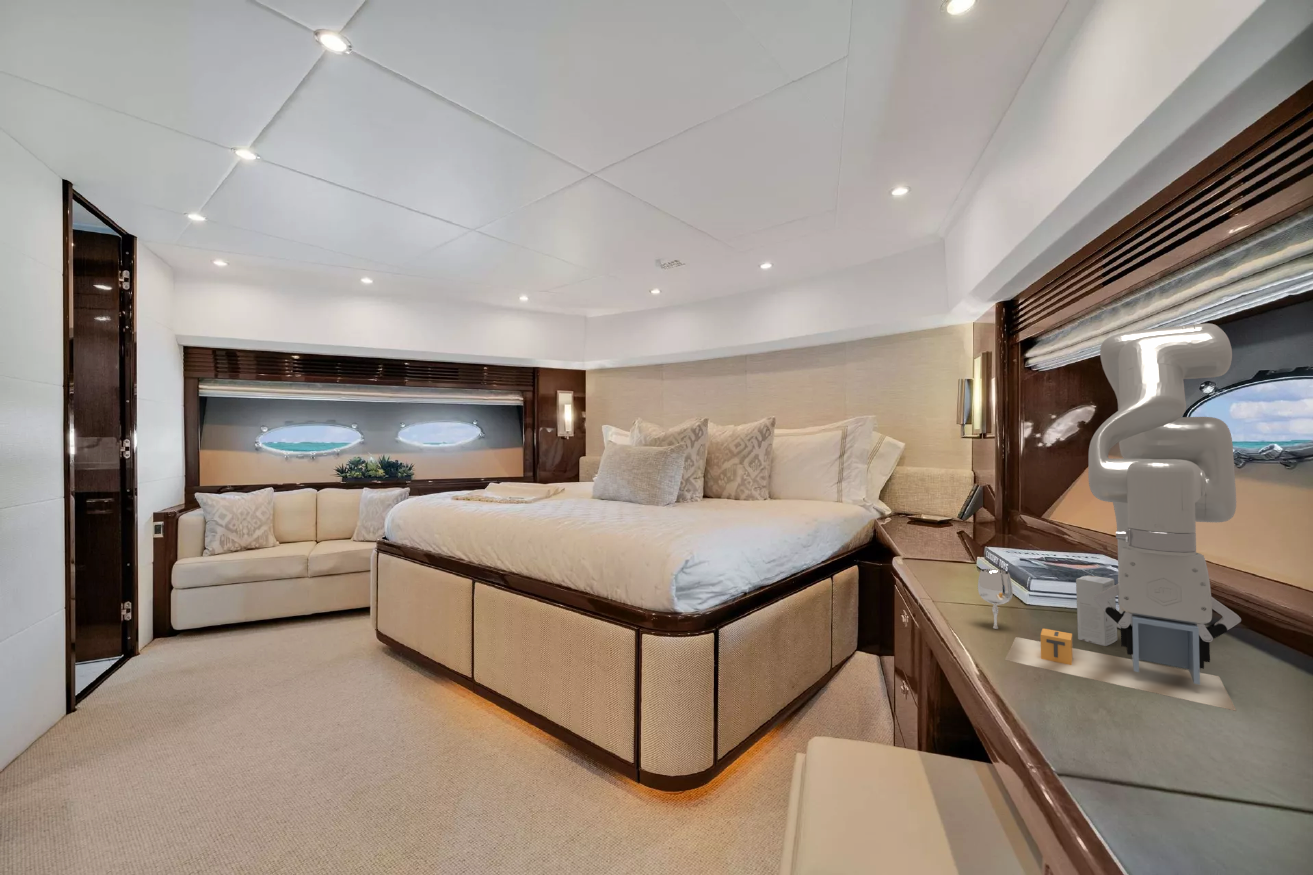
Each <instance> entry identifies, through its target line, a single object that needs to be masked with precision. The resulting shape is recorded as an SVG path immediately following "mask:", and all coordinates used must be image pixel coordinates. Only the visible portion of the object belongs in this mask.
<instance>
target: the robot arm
mask: <svg viewBox="0 0 1313 875" xmlns="http://www.w3.org/2000/svg"><path fill="white" fill-rule="evenodd" d="M1099 351H1100V352H1099V354H1100V362H1101V365H1102V370H1103V372H1104V374H1105V377H1106V378H1107V381H1108V383H1109V384H1110V386H1111V388H1112V390H1113V391H1114V394H1115V397H1116V399H1117V400H1116V401H1117V411H1116V412H1115V413H1113V414H1112V415H1111V416H1110V417H1108V418H1107V419H1106V420H1105V421H1104V422H1103V423H1102V424H1101V425H1100V426H1099V427H1098V428H1097V429H1096V430H1095V432H1094V434H1093V436H1092V437H1091V440H1090V442H1089V448H1088V485H1089V489H1090V492H1091V493H1092V495H1093V496H1094V497H1095V498H1096V499H1097V500H1100V501H1103V502H1106V503H1107V502H1108V503H1112V504H1113V510H1114V516H1115V522H1116V531H1115V539H1116V540H1117V570H1118V571H1117V572H1118V573H1117V583H1115V585H1114V586H1112V587H1110V588H1108V589H1107V590H1105V591H1103V592H1101V593H1099V594H1097V595H1095V596H1094V601H1095V602H1096V603H1097V604H1098V605H1099V606H1100V607H1101V608H1102V609H1103V610H1104V611H1105V612H1106V613H1107V614H1108V615H1109V616H1110V617H1111V618H1112V619H1113V620H1114V621H1115V622H1116V623H1117V629H1119V630H1120V646H1121V647H1123V648H1126V655H1129V656H1132V654H1133V635H1132V626H1131V622H1132V615H1139V616H1145V617H1152V618H1158V619H1165V620H1171V621H1178V622H1185V623H1191V624H1197V626H1198V628H1199V663H1200V669H1203V670H1204V669H1205V663H1210V662H1211V645H1210V643H1211V642H1213V640H1215V639H1216V638H1218V637H1220V636H1222V635H1223V634H1225V633H1227V632H1228V630H1230V629H1232V628H1233V627H1235V626H1236V625H1238V624H1240V623H1241V622H1242V618H1241V617H1240V616H1239V615H1238V614H1237V613H1236V612H1234V611H1233V610H1231V609H1230V608H1228V607H1227V606H1225V605H1224V604H1223V603H1221V602H1220V601H1218V600H1217V599H1216V598H1214V597H1213V596H1212V592H1211V591H1212V590H1211V583H1210V575H1209V570H1208V566H1207V562H1206V558H1205V555H1204V554H1202V553H1199V552H1197V533H1196V530H1197V529H1196V523H1197V522H1198V523H1217V524H1218V523H1224V522H1228V521H1230V520H1231V519H1232V518H1233V517H1234V515H1235V513H1236V510H1237V487H1236V486H1237V485H1236V476H1235V475H1236V474H1235V459H1234V445H1233V438H1232V434H1231V430H1230V428H1229V426H1228V425H1227V424H1226V422H1225V421H1223V420H1222V419H1219V418H1217V417H1212V416H1184V413H1185V412H1186V410H1187V402H1186V393H1185V383H1184V382H1185V381H1184V380H1191V379H1192V380H1193V379H1205V378H1207V379H1208V378H1217V377H1221V376H1223V375H1225V374H1227V372H1228V371H1229V370H1230V368H1231V364H1232V360H1233V349H1232V346H1231V342H1230V339H1229V337H1228V334H1226V332H1224V330H1223V329H1222V328H1221V327H1219V326H1218V325H1216V324H1213V323H1208V322H1207V323H1206V322H1205V323H1195V324H1185V325H1176V326H1167V327H1157V328H1148V329H1147V328H1146V329H1139V330H1132V331H1125V332H1121V333H1117V334H1114V335H1111V336H1109V337H1107V338H1106V339H1104V340H1103V341H1102V343H1101V345H1100V350H1099ZM1182 416H1184V417H1182ZM1116 444H1118V445H1119V452H1120V454H1121V457H1122V458H1109V455H1110V454H1109V453H1110V450H1111V449H1112V448H1113V447H1114V446H1115V445H1116ZM1113 597H1115V598H1116V597H1117V600H1118V602H1117V605H1118V610H1117V608H1116V609H1115V608H1114V607H1113V606H1112V605H1111V604H1110V603H1109V602H1108V600H1109V599H1111V598H1113ZM1213 611H1215V612H1216V613H1217V614H1219V615H1220V616H1222V617H1221V618H1219V620H1218V621H1215V622H1213V623H1211V621H1212V619H1213ZM1209 623H1211V624H1210V625H1207V626H1206V624H1209Z"/></svg>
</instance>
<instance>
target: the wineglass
mask: <svg viewBox="0 0 1313 875" xmlns="http://www.w3.org/2000/svg"><path fill="white" fill-rule="evenodd" d="M977 581H978V582H977V591H978V594H979V596H980V598H981V599H983V600H984V601H985V602H988V603H989V604H992V605H993V606H992V613H993V627H992V628H993V629H996V630H998V629H999V626H998V614H999V607H998V606H999V605H1004V604H1006V603H1009V602H1010V601H1011V600H1012V598H1013V594H1014V590H1013V583H1012V579H1011V575H1010V572H1008V571H1005V570H1002V569H995V568H982V569H980V572H979V576H978V580H977Z"/></svg>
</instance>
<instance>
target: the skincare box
mask: <svg viewBox="0 0 1313 875" xmlns="http://www.w3.org/2000/svg"><path fill="white" fill-rule="evenodd" d="M1075 585H1076V587H1075V588H1076V614H1077V616H1076V617H1077V618H1076V619H1077V640H1080V641H1083V642H1087V643H1090V644H1096V645H1098V646H1099V645H1100V646H1104V647H1106V646H1109V645H1112V644H1113V643H1115V642H1116V641H1118V628H1117V623H1116V622H1115V621H1114V620H1113V619H1112V618H1111V617H1110V616H1109V615H1108V614H1107V613H1106V612H1105V611H1104V610H1103V609H1102V608H1101V607H1100V606H1099V605H1098V604H1097V603H1096V602H1095V601H1094V596H1095V595H1097V594H1099V593H1101V592H1103V591H1105V590H1107V589H1108V588H1110V587H1112V586H1114V585H1116V582H1115V579H1114V578H1110V577H1109V578H1108V577H1103V576H1096V575H1084V576H1081V577H1078V578H1076V579H1075ZM1108 602H1109V603H1110V604H1111V605H1112V606H1113V607H1114V608H1115V609H1116V610H1117V604H1116V602H1117V600H1116V596H1115V597H1113V598H1111V599H1109V600H1108Z"/></svg>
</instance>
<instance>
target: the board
mask: <svg viewBox="0 0 1313 875" xmlns="http://www.w3.org/2000/svg"><path fill="white" fill-rule="evenodd" d="M1072 652H1073V658H1072V665H1069V664H1064V663H1059V662H1054V661H1050V660H1045V659H1041V641H1039V640H1034V639H1033V640H1032V639H1029V638H1023V637H1018V636H1016V637H1015V638H1014V639H1013V642H1012V644H1011V647H1010V648H1009V650H1008V653H1007V654H1006V656H1005V659H1004V661H1007V662H1012V663H1017V664H1021V665H1026V666H1029V667H1035V668H1038V669H1044V670H1047V671H1053V672H1057V673H1062V674H1065V675H1071V676H1075V677H1078V678H1084V679H1088V680H1094V681H1098V682H1101V683H1102V682H1103V683H1107V684H1111V685H1117V686H1121V687H1124V688H1125V687H1126V688H1131V689H1135V690H1138V691H1143V692H1148V693H1152V694H1156V695H1157V694H1158V695H1162V696H1166V697H1171V698H1175V699H1179V700H1185V701H1190V702H1194V703H1198V704H1203V705H1207V706H1212V707H1215V708H1221V709H1225V710H1231V711H1235V712H1237V709H1236V707H1235V705H1234V703H1233V701H1232V698H1231V697H1230V695H1229V693H1228V691H1227V689H1226V687H1225V686H1224V683H1223V681H1222V679H1221V678H1220V676H1219V675H1214V674H1209V673H1205V672H1204V673H1203V672H1200V685H1199V684H1194V682H1193V679H1192V677H1191V674H1190V672H1189V669H1185V668H1180V667H1175V666H1169V665H1164V664H1159V663H1154V662H1149V661H1143V660H1139V672H1135V671H1134V669H1133V662H1132V658H1126V657H1121V656H1117V655H1116V656H1115V655H1110V654H1105V653H1100V652H1096V651H1089V650H1085V649H1079V648H1074V647H1072Z"/></svg>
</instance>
